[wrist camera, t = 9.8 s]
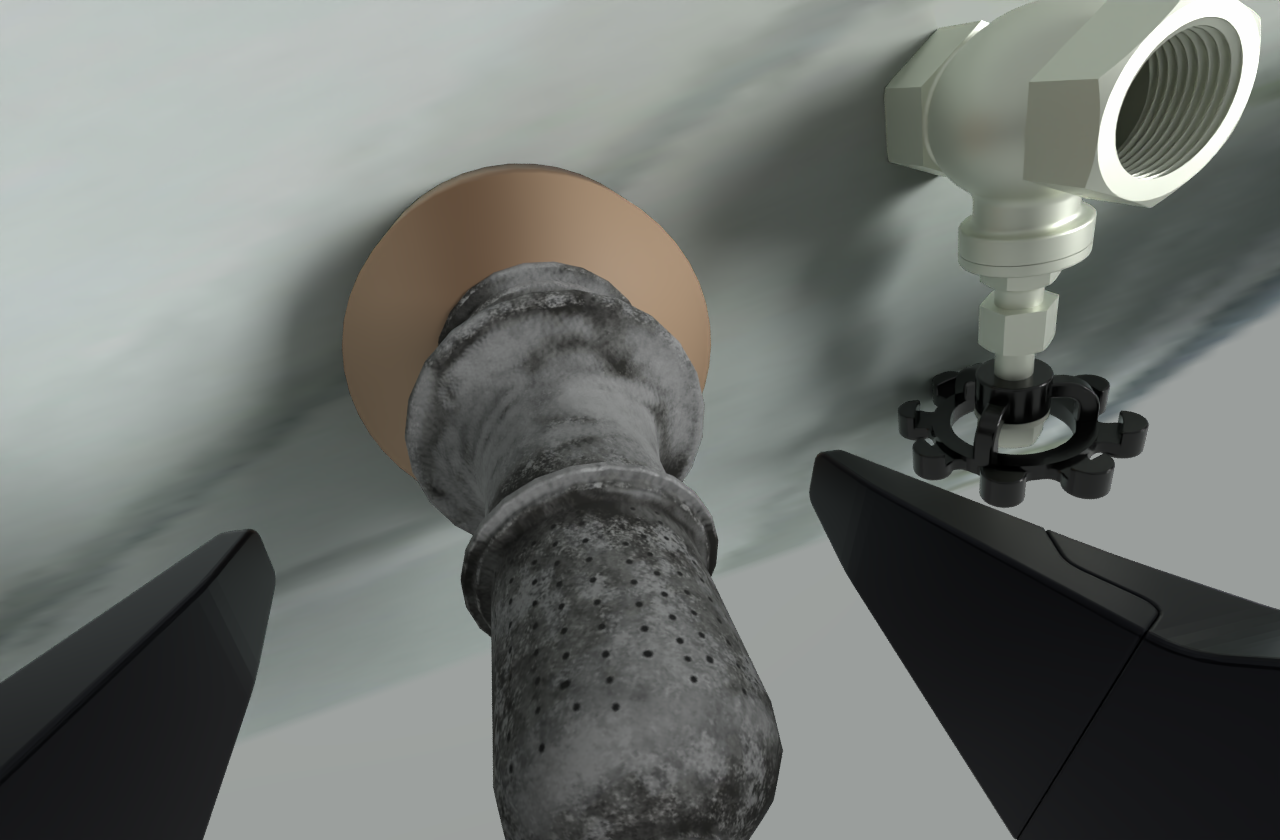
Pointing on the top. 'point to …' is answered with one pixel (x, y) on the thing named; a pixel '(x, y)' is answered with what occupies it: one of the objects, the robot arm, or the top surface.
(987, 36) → the valve
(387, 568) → the top surface
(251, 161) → the top surface
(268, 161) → the top surface
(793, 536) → the top surface
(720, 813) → the salt shaker
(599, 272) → the tan round disc
